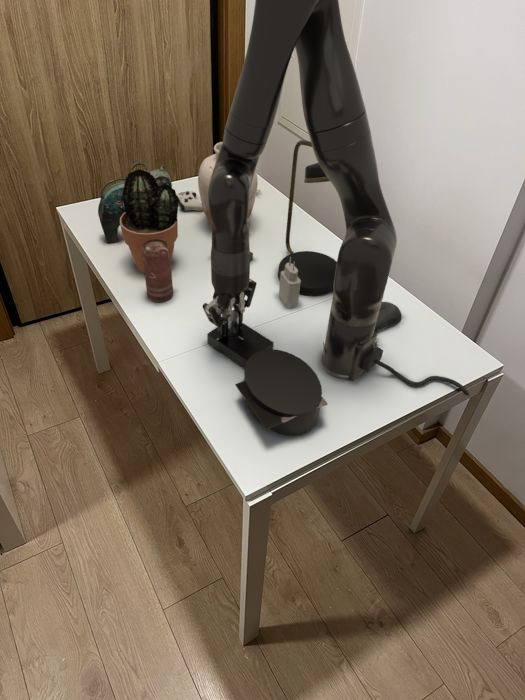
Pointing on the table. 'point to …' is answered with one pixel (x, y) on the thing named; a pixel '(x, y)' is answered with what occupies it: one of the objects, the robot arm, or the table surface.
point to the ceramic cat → (121, 203)
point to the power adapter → (289, 286)
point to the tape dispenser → (282, 392)
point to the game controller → (189, 201)
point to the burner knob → (233, 324)
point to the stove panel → (239, 344)
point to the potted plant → (148, 214)
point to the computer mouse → (387, 316)
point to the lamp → (311, 265)
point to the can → (157, 270)
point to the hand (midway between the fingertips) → (230, 329)
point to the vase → (204, 181)
